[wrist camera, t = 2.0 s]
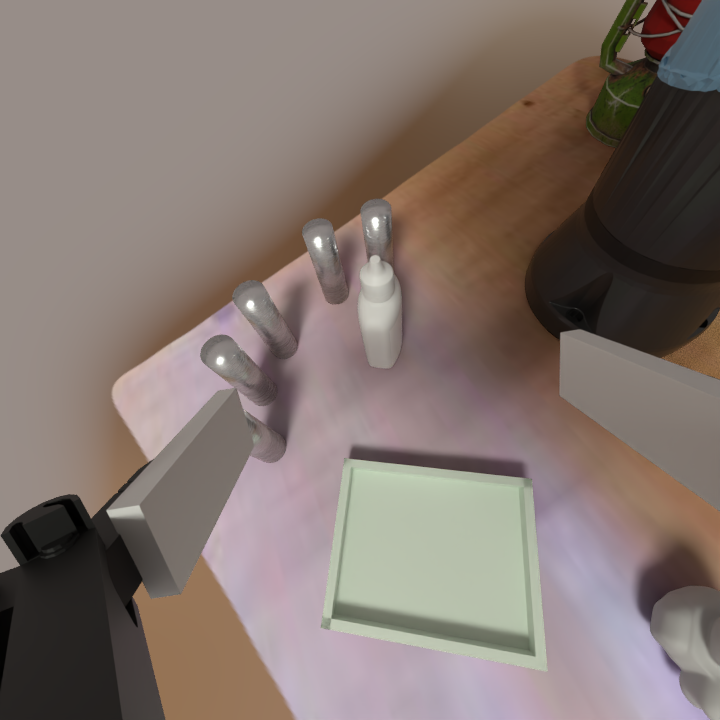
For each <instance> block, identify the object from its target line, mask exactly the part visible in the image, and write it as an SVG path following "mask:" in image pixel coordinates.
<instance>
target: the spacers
mask: <svg viewBox="0 0 720 720" xmlns="http://www.w3.org/2000/svg"><path fill="white" fill-rule="evenodd" d="M361 218H362V226H363V233H364V240H365V247H366V254H367V261H368V262H369V261H370V258H371V257H372V256H374V255H377V256H379V257H380V259H381V261H385V262H387V263H388V264H390V266H391V267H392V268H393V271H394V262H393V238H392V214H391V205H390V204H389V203H388V202H387V201H385V200H383V199H373V200H369V201H367V202H366V203H365V204H363V206H362V207H361ZM302 234H303V237H304V240H305V243H306V246H307V249H308V251H309V254H310V257H311V260H312V263H313V266H314V268H315V271H316V274H317V277H318V280H319V283H320V285H321V288H322V291H323V294H324V297H325V299H326V301H327V302H328V303H330V304H340V303H342V302H344V301H345V300H346V299H347V297H348V289H347V284H346V280H345V276H344V272H343V268H342V264H341V260H340V256H339V251H338V247H337V243H336V239H335V235H334V231H333V227H332V224H331V223H330V222H329V221H328V220H326V219H314V220H311V221H310V222H308V223H307V224H306V225H305V226H304V227H303V230H302ZM233 302H234V303H235V305H236V306H237V307H238V309H239V310H240V311H241V312H242V314H243V315H244V316H245V318H246V319H247V320H248V321H249V323H250V324H251V325H252V327H253V328H254V329H255V330H256V332H257V333H258V334H259V336H260V337H261V338H262V339H263V341H264V342H265V343H266V345H267V346H268V347H269V348H270V350H271V351H272V352H273V354H274V355H275V356H276V357H278V358H280V359H286V358H289V357H291V356H293V355H294V354H295V352H296V350H297V347H298V344H297V341H296V339H295V338H294V336H293V334H292V333H291V331H290V329H289V328H288V326H287V324H286V323H285V321H284V319H283V318H282V316H281V314H280V313H279V311H278V309H277V308H276V306H275V304H274V303H273V301H272V299H271V297H270V296H269V294H268V292H267V291H266V289H265V287H264V286H263V284H262V283H260V282H258V281H254V280H251V281H246V282H244V283H242V284H240V285H239V286H238V287H237V288H236V289H235V291H234V293H233ZM200 356H201V360H202V362H203V363H204V364H205V365H207V366H208V367H209V368H210V369H212V370H213V371H214V372H215V373H217V374H218V375H219V376H220V377H222V378H223V379H224V380H225V381H227V382H228V383H229V384H230V385H232V386H233V387H234V388H236V389H237V390H238V391H239V392H241V393H242V394H243V395H244V396H246V397H247V398H248V399H249V400H251V401H252V402H253V403H254V404H256V405H258V406H266V405H268V404H270V403H271V402H273V400H274V399H275V398H276V395H277V387H276V385H275V384H274V383H273V382H272V381H271V380H270V379H269V377H268V376H267V375H266V374H265V373H264V372H263V371H262V370H261V369H260V368H259V367H258V366H257V365H256V364H255V363H254V361H253V360H252V359H251V358H250V357H249V356H248V355H247V354H246V353H245V352H244V351H243V350H242V349H241V348H240V347H239V345H238V344H237V343H236V342H235V341H234V340H233V339H232V338H231V337H229V336H227V335H217V336H214V337H212V338H210V339H209V340H208V341H207V342H206V343H205V344H204V345H203V347H202V349H201V353H200ZM243 411H244V414H245V417H246V421H247V424H248V427H249V430H250V433H251V436H252V440H253V443H254V447H253V449H252V451H251V453H250V456H252V457H254V458H257V459H259V460H261V461H264V462H266V463H273V462H276V461H278V460H279V459H280V458H281V457H282V456H283V455H284V453H285V450H286V443H285V440H284V438H283V437H282V436H281V435H279V434H278V433H276V432H275V431H274V430H272V429H271V428H269V427H268V426H267V425H265V424H264V423H262V422H261V421H259V420H258V419H257V418H255V417H254V416H252V415H251V414H249V413H248V412H247V411H245V410H244V409H243Z"/></svg>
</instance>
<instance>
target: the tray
mask: <svg viewBox="0 0 720 720" xmlns="http://www.w3.org/2000/svg"><path fill="white" fill-rule="evenodd" d="M321 628H324V629H329V630H334V631H339V632H345V633H350V634H355V635H360V636H365V637H371V638H376V639H381V640H386V641H391V642H396V643H402V644H407V645H412V646H417V647H422V648H428V649H433V650H438V651H443V652H448V653H454V654H459V655H464V656H469V657H474V658H479V659H485V660H490V661H495V662H500V663H505V664H511V665H516V666H521V667H526V668H531V669H537V670H542V671H547V659H546V647H545V635H544V622H543V610H542V598H541V586H540V574H539V561H538V549H537V537H536V525H535V512H534V500H533V488H532V479H528V478H519V477H510V476H500V475H491V474H482V473H473V472H464V471H455V470H446V469H437V468H428V467H419V466H410V465H401V464H392V463H383V462H373V461H364V460H355V459H346V458H344V465H343V472H342V480H341V487H340V494H339V501H338V508H337V516H336V523H335V530H334V537H333V544H332V551H331V559H330V566H329V573H328V580H327V587H326V595H325V602H324V609H323V616H322V623H321ZM547 672H548V671H547Z"/></svg>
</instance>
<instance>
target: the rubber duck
mask: <svg viewBox="0 0 720 720" xmlns="http://www.w3.org/2000/svg"><path fill="white" fill-rule="evenodd" d="M650 631H651V634H652V636H653V637H654V638H655V640H656V641H657V642H658V643H659V644H660V645H661V646H662V647H663V648H664V649H665V651H666V653H667V654H668V656H669V657H670V658H671V659H672V660H673V661H674V662H675V663H676V664H677V665H678V666H679V667H680V669H681V672H680V677H679V682H680V687H681V690H682V692H683V694H684V695H685V697H686V698H687V700H688V701H689V702H690V703H691V704H692V705H694V706H695V707H696V708H699V709H702V710H703V711H704V713H705V714H706V715H707V717H708V718H709V719H710V720H720V591H718V590H716V589H713V588H710V587H706V586H687V587H683V588H679V589H676V590H673V591H670V592H668V593H667V594H666V595H665V596H664V597H663V598H661V599H660V600H658V601H657V602H656V603H655V605H654V607H653V611H652V617H651V624H650Z"/></svg>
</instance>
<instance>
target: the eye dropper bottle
mask: <svg viewBox="0 0 720 720" xmlns="http://www.w3.org/2000/svg"><path fill="white" fill-rule="evenodd" d="M359 275H360V282H361V287H362V288H361V290H360V293H359V297H358V319H359V324H360V329H361V334H362V338H363V343H364V347H365V351H366V356H367V360H368V363H369V365H370V366H372V367H375V368H384V369H388V368H391V367H392V366H393V365H394V364H395V362H396V360H397V358H398V356H399V354H400V351H401V346H402V293H401V287H400V283H399V281H398V278H397V277H396V275H394V271H393V268H392V267H391V266H390V264H388V263H387V262H385V261H381V259H380V257H379V256H377V255H374V256H372V257H371V258H370V261H369V262H368V263H367V264H365V265H364V266H363V267H362V269H361V270H360V274H359Z"/></svg>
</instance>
